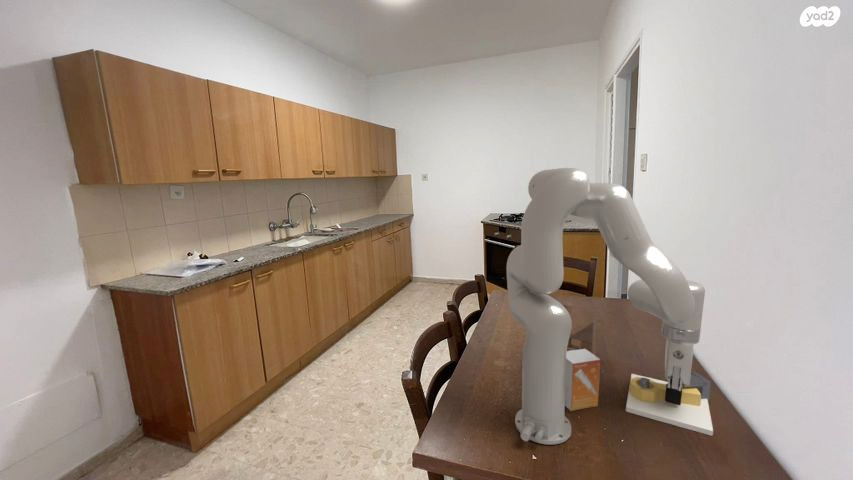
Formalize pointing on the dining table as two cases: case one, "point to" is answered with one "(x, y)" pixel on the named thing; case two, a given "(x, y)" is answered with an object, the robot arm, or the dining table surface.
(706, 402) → the board
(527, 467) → the dining table surface
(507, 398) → the dining table surface
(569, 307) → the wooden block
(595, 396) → the small box
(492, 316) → the dining table surface
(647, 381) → the pin
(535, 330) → the robot arm
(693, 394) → the link
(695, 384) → the block
